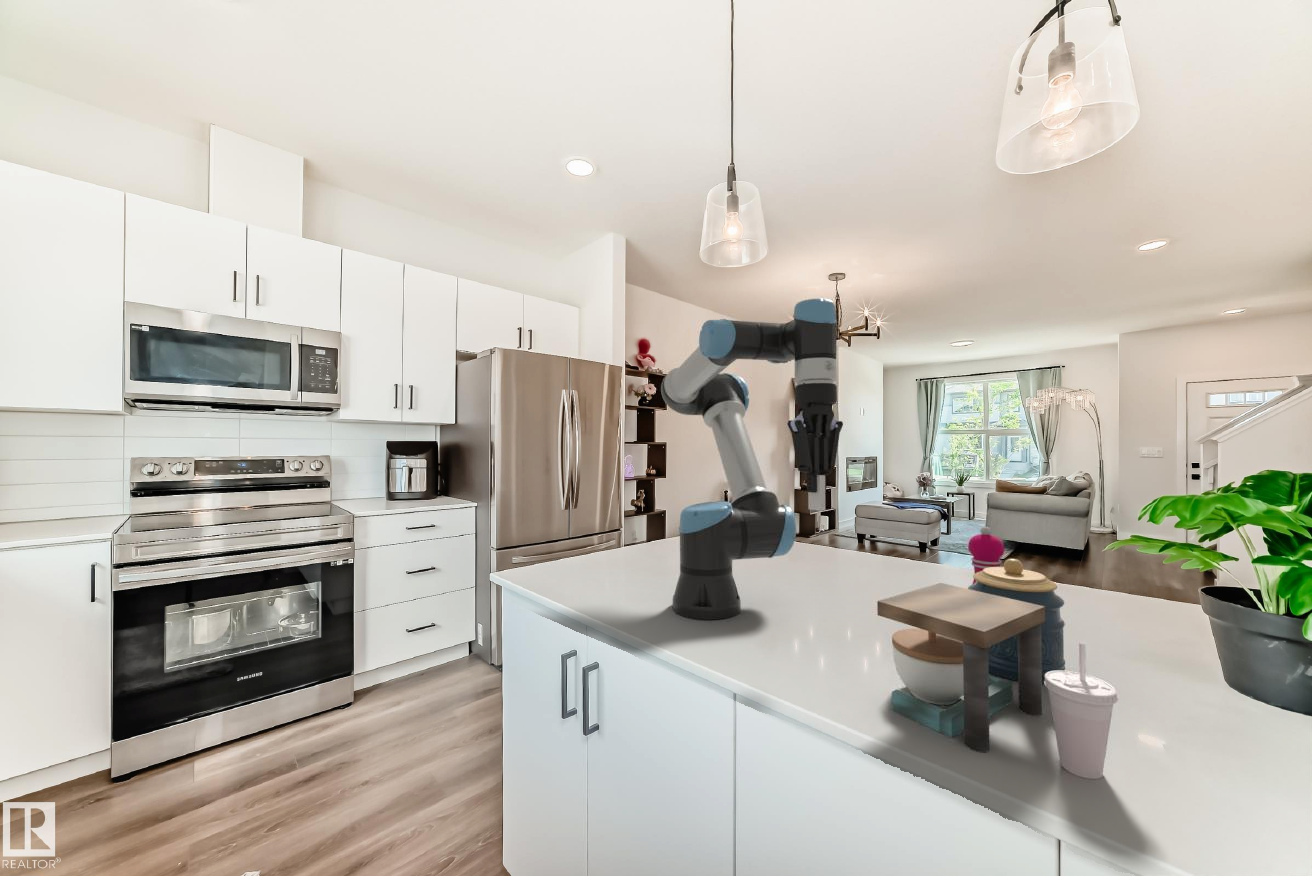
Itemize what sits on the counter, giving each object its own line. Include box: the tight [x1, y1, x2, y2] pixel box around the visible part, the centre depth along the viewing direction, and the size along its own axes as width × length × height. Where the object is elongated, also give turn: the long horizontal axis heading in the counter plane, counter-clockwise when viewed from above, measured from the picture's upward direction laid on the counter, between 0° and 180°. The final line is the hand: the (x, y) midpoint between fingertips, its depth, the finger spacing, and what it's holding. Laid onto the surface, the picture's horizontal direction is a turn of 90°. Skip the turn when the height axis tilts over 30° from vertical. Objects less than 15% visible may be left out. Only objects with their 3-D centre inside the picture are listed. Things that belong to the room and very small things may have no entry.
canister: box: [967, 558, 1066, 684], centre depth 83 cm, size 13×13×18 cm
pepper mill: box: [967, 526, 1005, 585], centre depth 101 cm, size 7×7×20 cm
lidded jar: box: [891, 628, 964, 706], centre depth 74 cm, size 11×11×9 cm
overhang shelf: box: [876, 582, 1045, 753], centre depth 70 cm, size 14×17×14 cm
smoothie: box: [1043, 641, 1119, 780], centre depth 57 cm, size 6×6×14 cm
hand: (816, 509), depth 95 cm, fingers closed
